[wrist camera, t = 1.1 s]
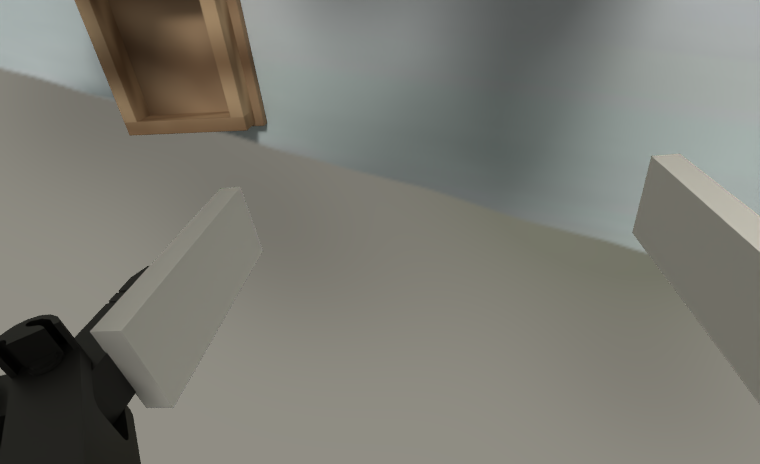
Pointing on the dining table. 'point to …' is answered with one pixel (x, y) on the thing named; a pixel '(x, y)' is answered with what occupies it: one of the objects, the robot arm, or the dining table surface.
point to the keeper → (176, 64)
